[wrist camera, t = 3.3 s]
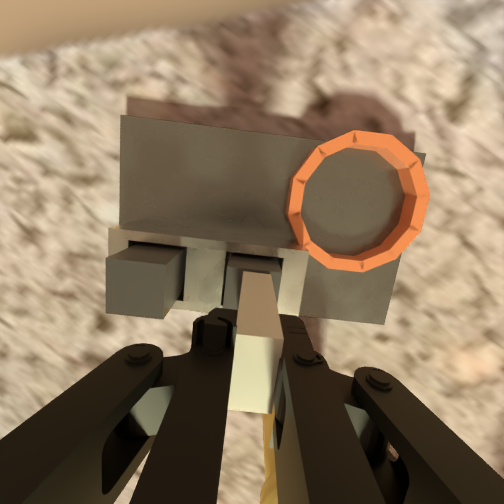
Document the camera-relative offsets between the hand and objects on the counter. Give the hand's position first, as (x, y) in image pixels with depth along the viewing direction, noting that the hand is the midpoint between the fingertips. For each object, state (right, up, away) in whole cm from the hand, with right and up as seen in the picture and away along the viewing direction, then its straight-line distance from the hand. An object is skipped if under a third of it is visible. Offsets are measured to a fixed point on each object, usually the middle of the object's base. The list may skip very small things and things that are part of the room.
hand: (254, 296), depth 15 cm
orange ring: (+7, +6, +5) cm, 10 cm away
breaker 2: (0, +1, +5) cm, 5 cm away
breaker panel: (+1, +4, +7) cm, 8 cm away
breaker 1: (-6, +1, +4) cm, 7 cm away
